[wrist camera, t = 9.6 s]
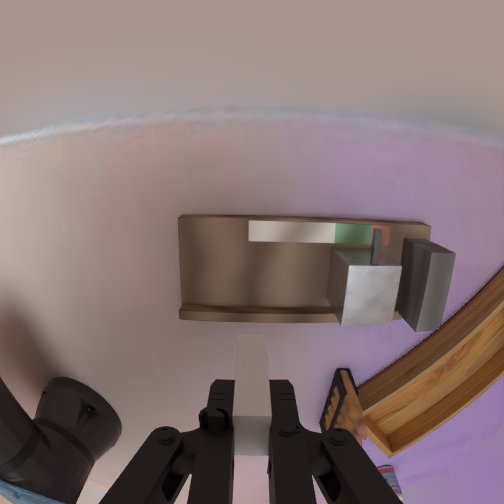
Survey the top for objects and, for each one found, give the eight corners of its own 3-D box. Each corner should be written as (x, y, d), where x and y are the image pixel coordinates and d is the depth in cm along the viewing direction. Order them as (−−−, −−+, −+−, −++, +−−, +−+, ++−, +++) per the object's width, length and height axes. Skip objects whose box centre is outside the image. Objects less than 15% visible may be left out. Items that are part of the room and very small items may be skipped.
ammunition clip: (336, 367, 36) (360, 434, 24) (349, 367, 36) (376, 432, 24) (319, 423, 39) (332, 486, 27) (330, 422, 39) (346, 484, 27)
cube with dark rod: (327, 299, 31) (341, 326, 25) (334, 217, 29) (352, 229, 23) (370, 298, 31) (391, 324, 25) (380, 220, 29) (406, 231, 23)
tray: (380, 437, 41) (389, 460, 35) (341, 394, 38) (350, 421, 32) (516, 327, 35) (535, 342, 30) (502, 262, 32) (526, 274, 27)
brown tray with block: (187, 310, 34) (169, 347, 26) (182, 214, 31) (159, 228, 24) (408, 310, 34) (438, 341, 26) (422, 222, 31) (461, 237, 23)
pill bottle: (396, 462, 42) (412, 504, 32) (387, 477, 44) (401, 517, 33) (367, 468, 43) (381, 512, 32) (360, 483, 44) (372, 525, 33)
